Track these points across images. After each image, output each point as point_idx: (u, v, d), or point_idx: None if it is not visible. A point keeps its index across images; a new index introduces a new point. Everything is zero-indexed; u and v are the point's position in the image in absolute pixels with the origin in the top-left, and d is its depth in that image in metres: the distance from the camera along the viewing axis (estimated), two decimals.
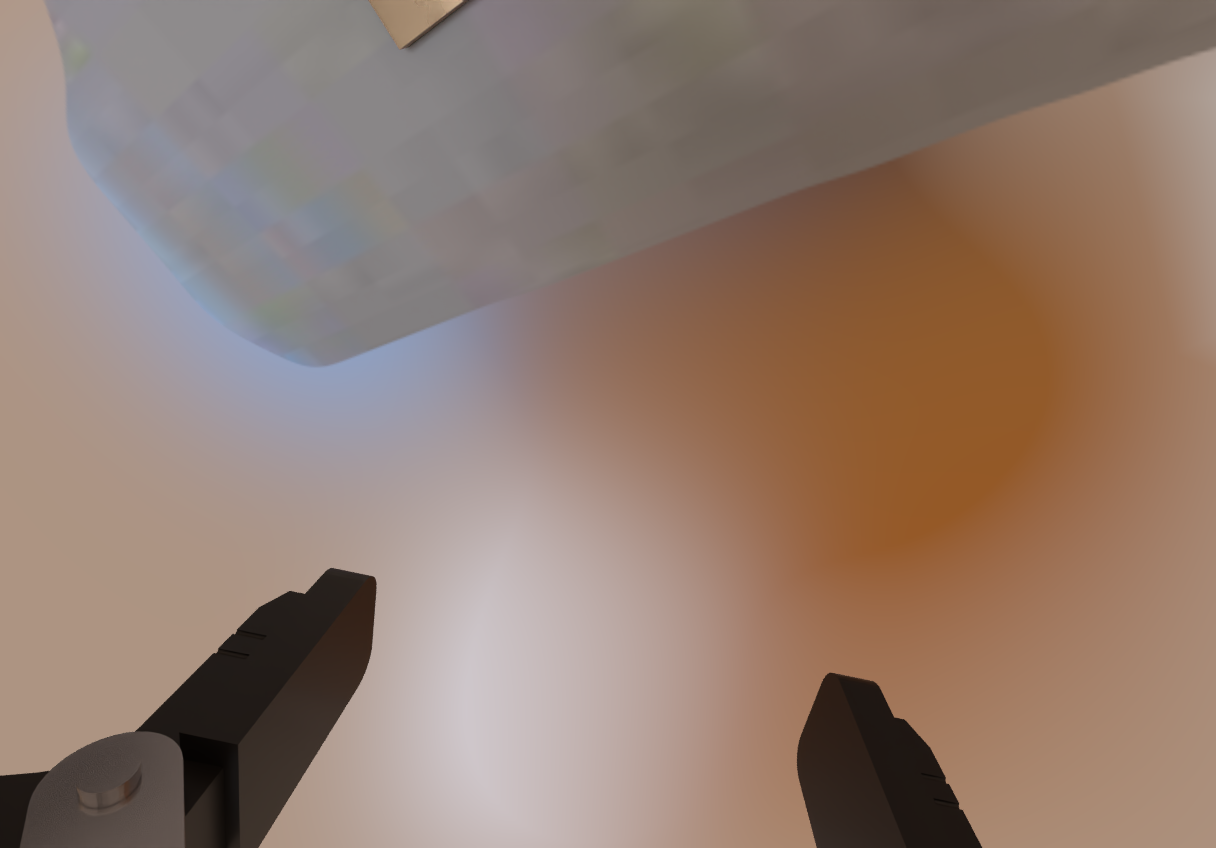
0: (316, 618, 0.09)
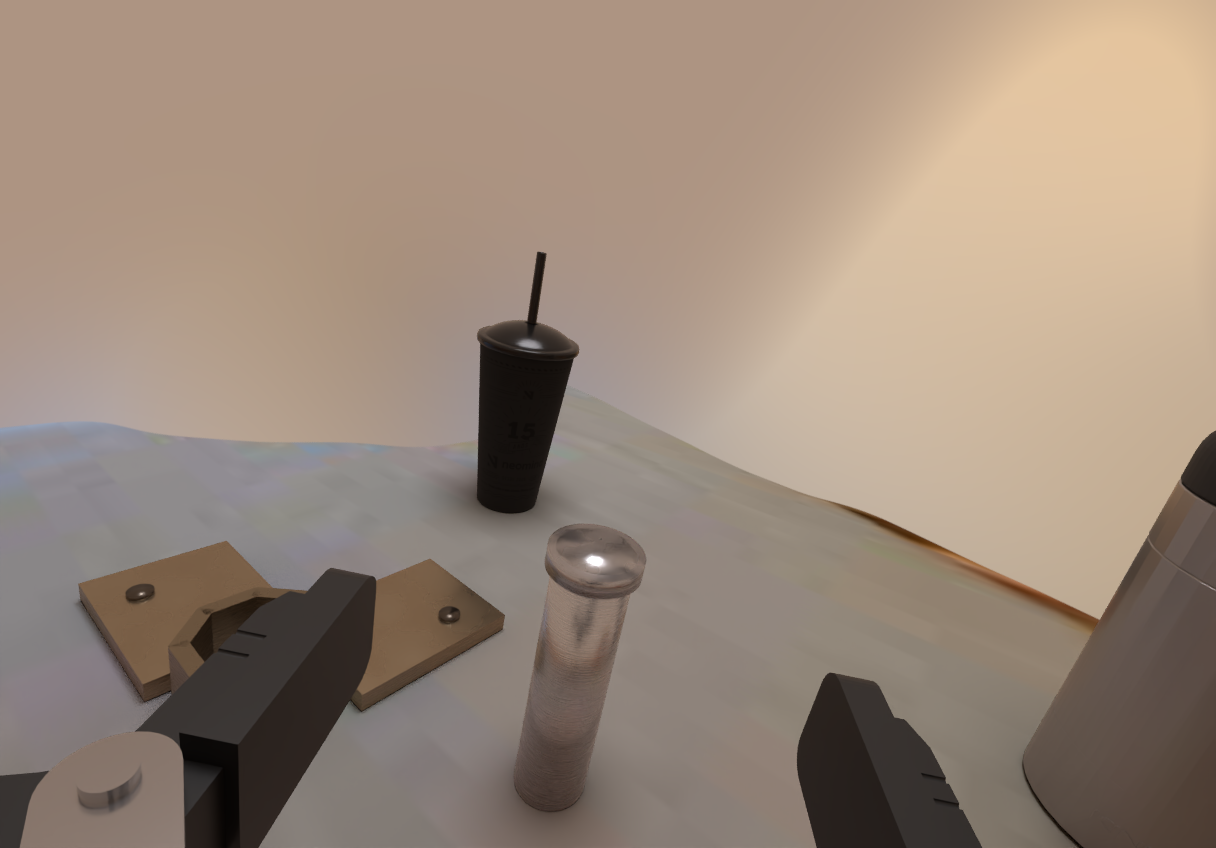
0: (316, 618, 0.09)
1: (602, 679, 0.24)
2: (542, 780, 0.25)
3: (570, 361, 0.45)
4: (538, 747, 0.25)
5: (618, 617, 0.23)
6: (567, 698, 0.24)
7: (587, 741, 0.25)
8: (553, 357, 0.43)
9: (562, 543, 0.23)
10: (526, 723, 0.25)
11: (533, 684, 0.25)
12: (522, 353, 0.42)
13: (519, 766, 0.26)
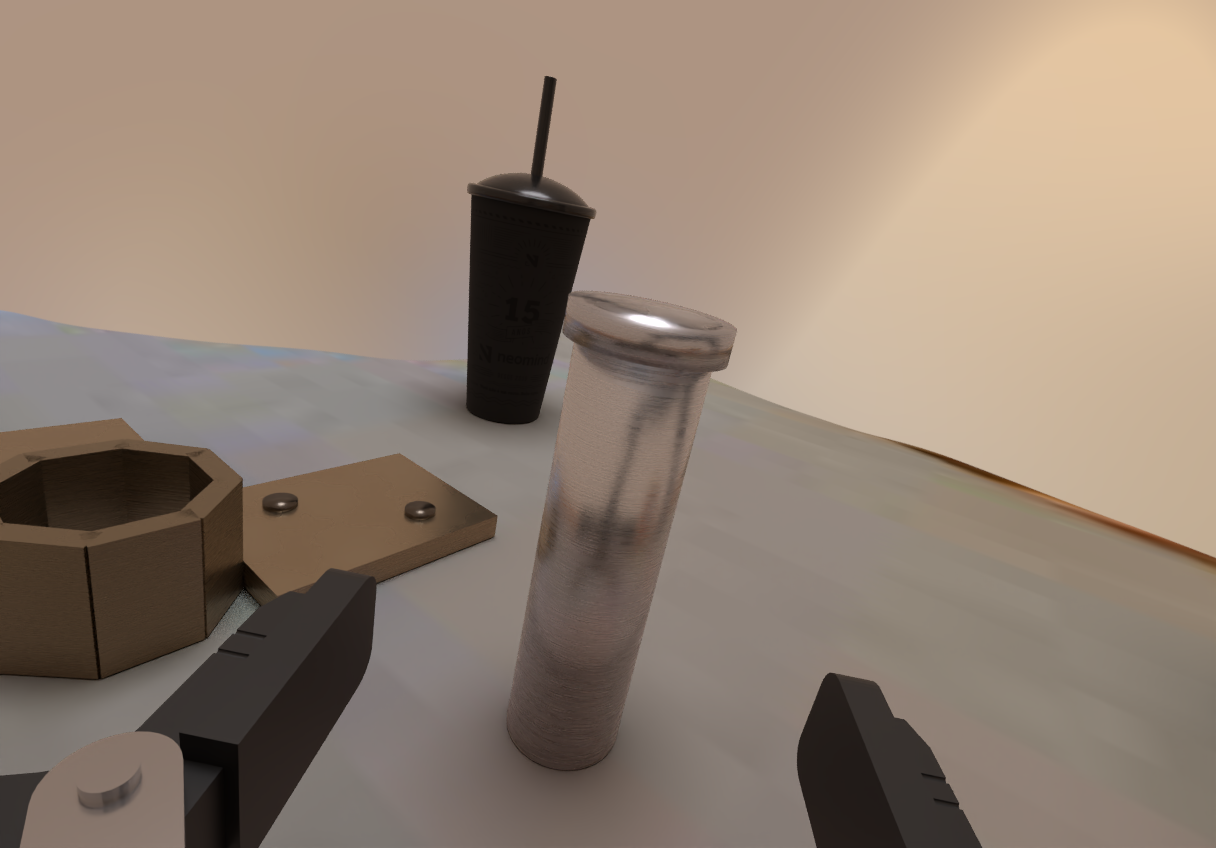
0: (316, 618, 0.09)
1: (657, 541, 0.14)
2: (553, 717, 0.15)
3: (585, 223, 0.35)
4: (546, 661, 0.15)
5: (689, 424, 0.13)
6: (599, 570, 0.14)
7: (627, 652, 0.15)
8: (564, 208, 0.33)
9: (593, 298, 0.13)
10: (527, 625, 0.16)
11: (540, 555, 0.15)
12: (524, 199, 0.33)
13: (515, 698, 0.16)
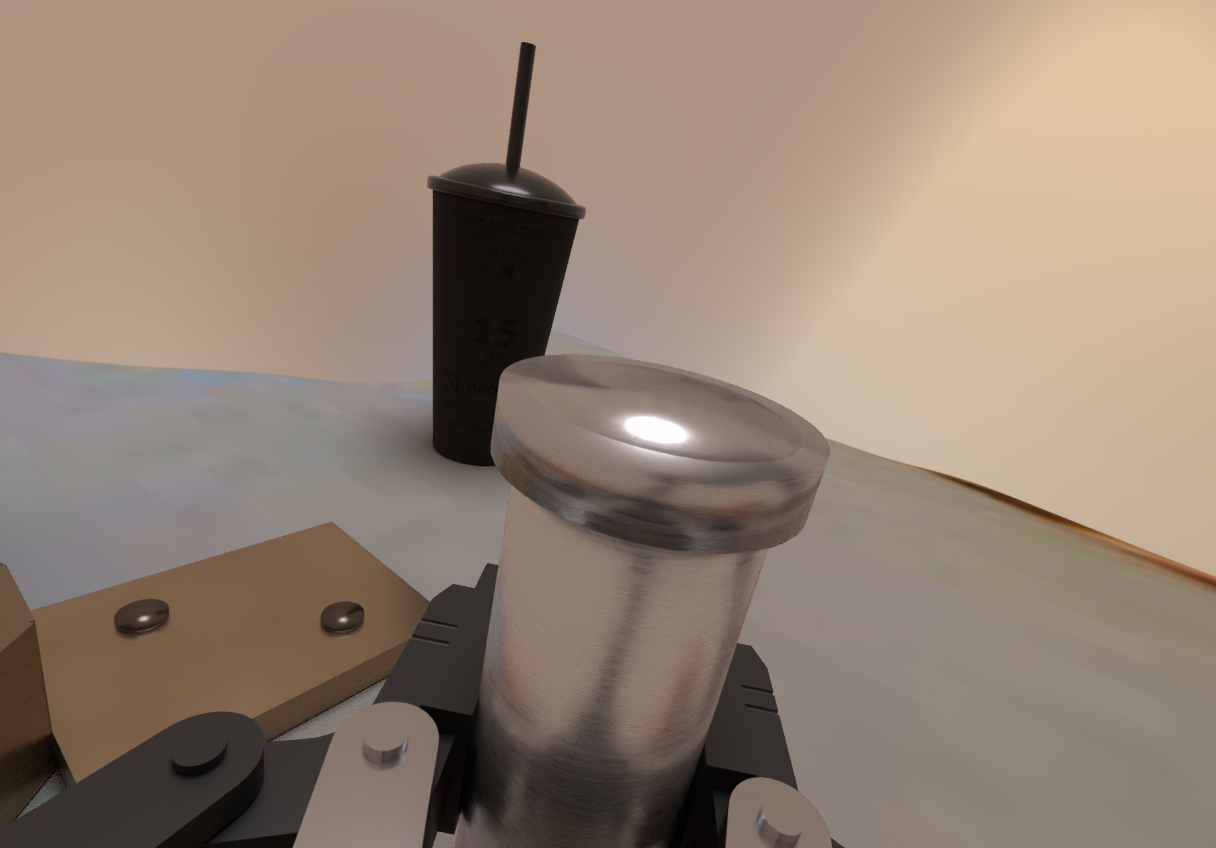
0: None
1: (673, 814, 0.08)
2: None
3: (572, 224, 0.29)
4: None
5: (734, 624, 0.07)
6: None
7: None
8: (545, 206, 0.27)
9: (550, 380, 0.07)
10: None
11: (465, 818, 0.08)
12: (495, 195, 0.26)
13: None
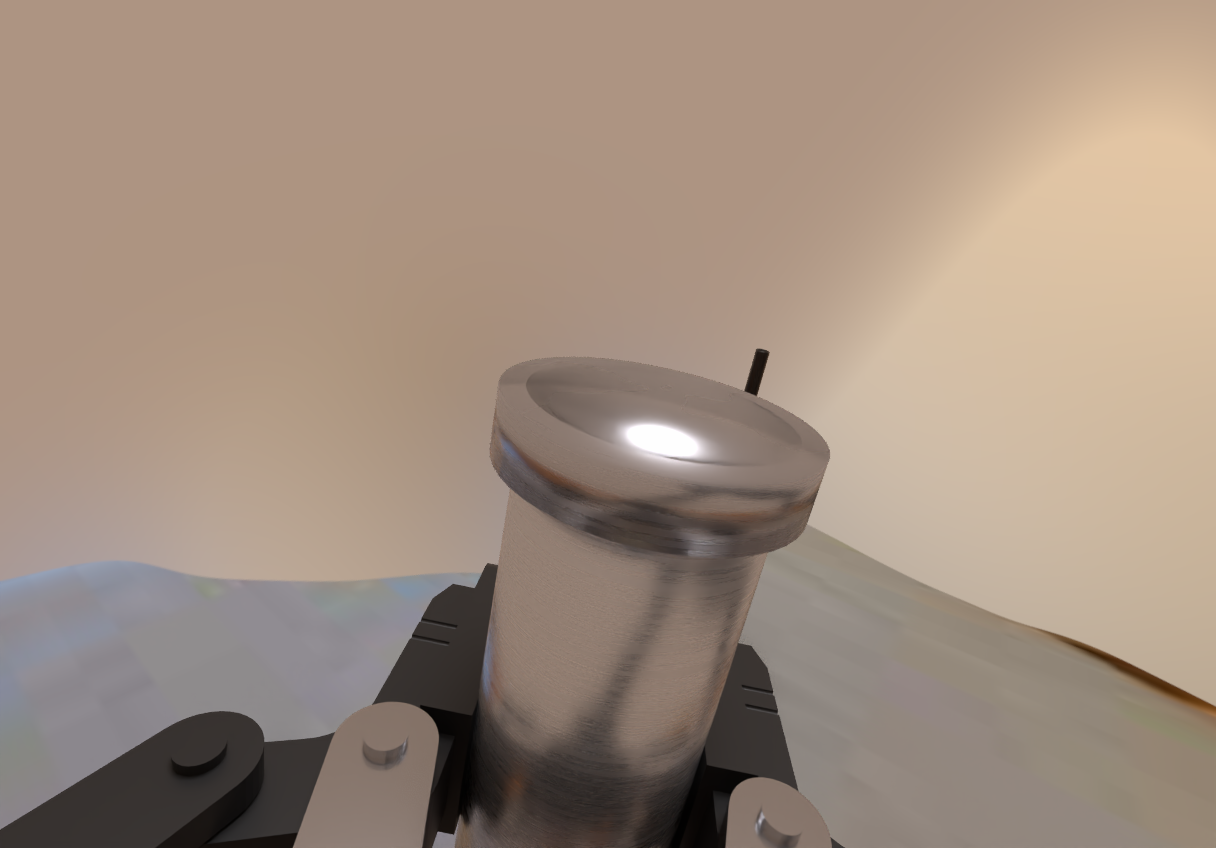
0: None
1: (672, 818, 0.08)
2: None
3: None
4: None
5: (734, 628, 0.07)
6: None
7: None
8: None
9: (549, 382, 0.07)
10: None
11: (464, 821, 0.08)
12: None
13: None
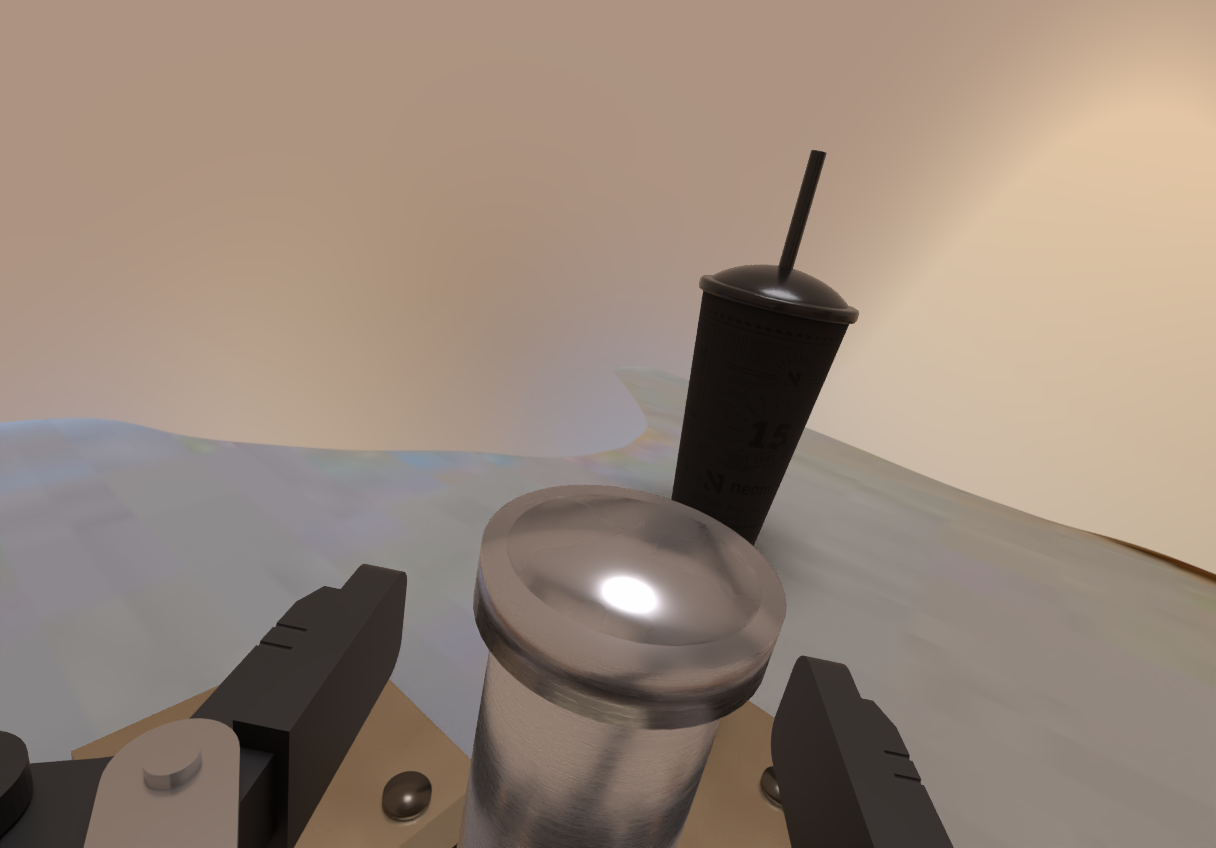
0: (353, 612, 0.09)
1: None
2: None
3: None
4: None
5: (698, 764, 0.07)
6: None
7: None
8: (842, 317, 0.27)
9: (529, 535, 0.08)
10: None
11: None
12: (800, 309, 0.26)
13: None
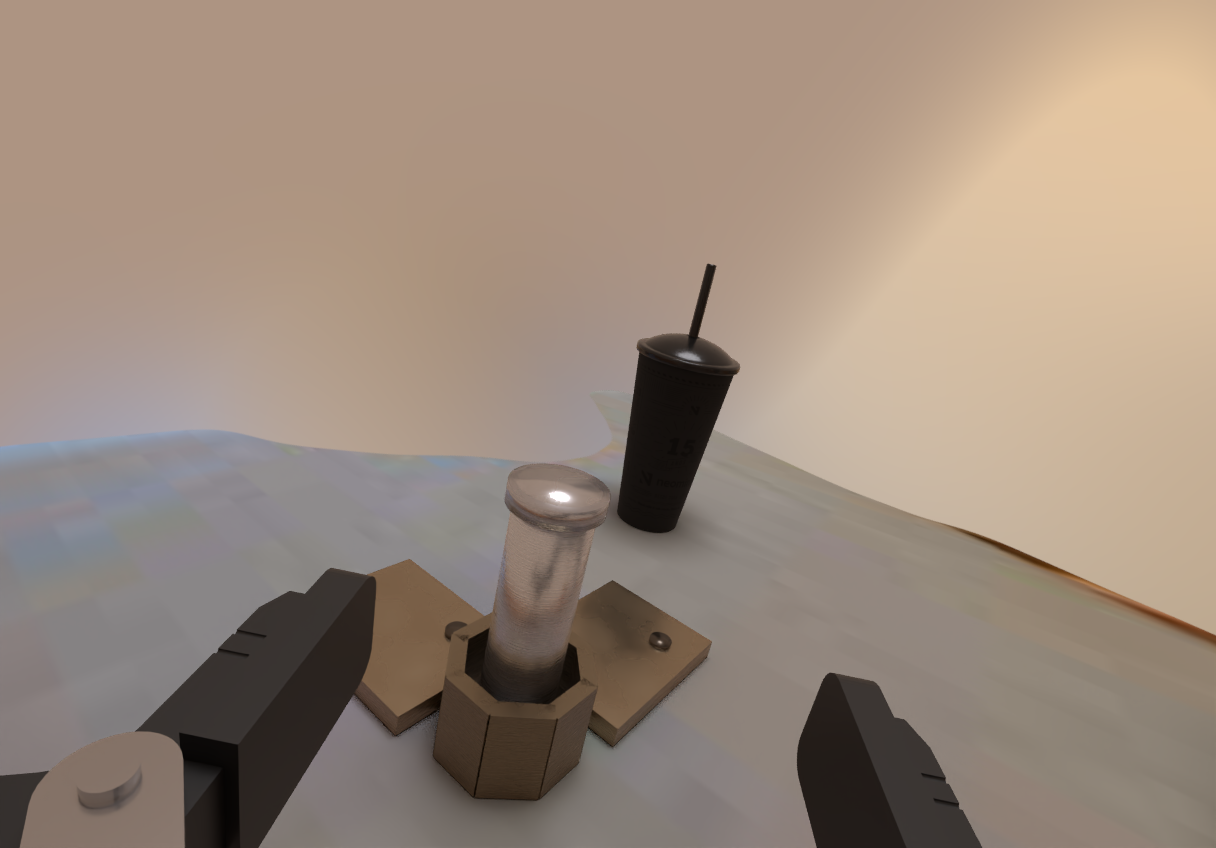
0: (316, 618, 0.09)
1: (563, 624, 0.23)
2: None
3: (732, 376, 0.44)
4: None
5: (580, 556, 0.22)
6: (526, 643, 0.22)
7: (547, 692, 0.24)
8: (724, 372, 0.42)
9: (523, 478, 0.22)
10: (483, 674, 0.24)
11: (491, 631, 0.23)
12: (696, 367, 0.41)
13: None
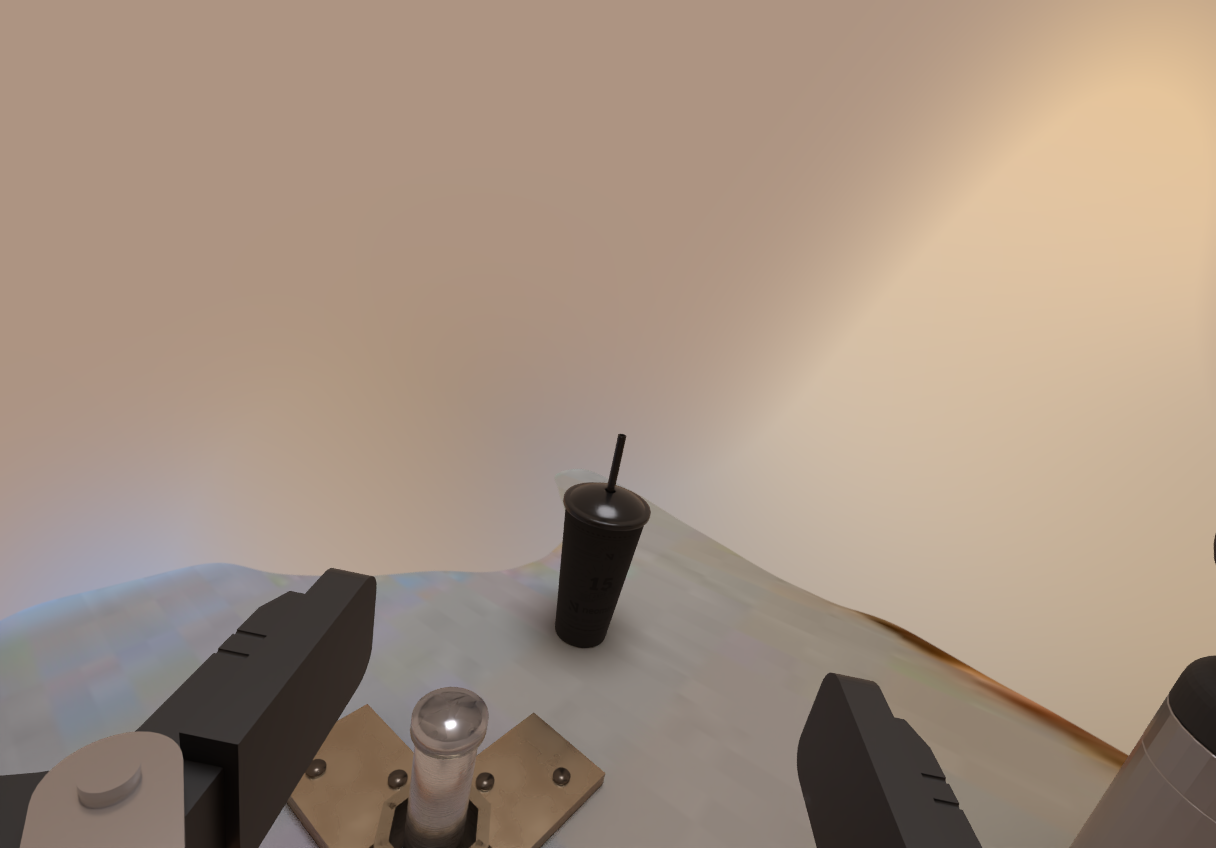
0: (316, 618, 0.09)
1: (457, 809, 0.32)
2: None
3: None
4: None
5: (465, 767, 0.31)
6: (429, 825, 0.31)
7: None
8: (632, 527, 0.50)
9: (424, 710, 0.31)
10: (404, 838, 0.33)
11: (407, 810, 0.32)
12: (607, 526, 0.49)
13: None
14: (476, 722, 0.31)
